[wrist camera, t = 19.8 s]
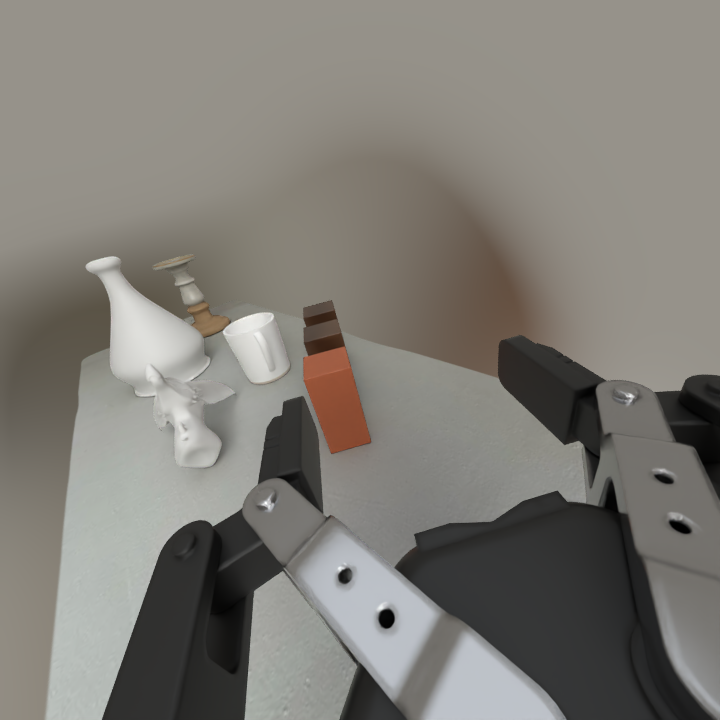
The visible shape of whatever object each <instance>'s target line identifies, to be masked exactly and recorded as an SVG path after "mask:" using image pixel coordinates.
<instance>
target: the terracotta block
mask: <svg viewBox="0 0 720 720" xmlns="http://www.w3.org/2000/svg"><path fill="white" fill-rule="evenodd" d="M303 359H304V382H305V385H306V388H307V390H308V393H309V396H310V398H311V401H312V404H313V406H314V409H315V412H316V414H317V417H318V420H319V422H320V425H321V428H322V430H323V433H324V436H325V438H326V441H327V444H328V446H329V449H330V452H331V454H332V453H336V452H339V451H343V450H346V449H349V448H353V447H356V446H360V445H363V444H367V443H370V442H371V439H370V436H369V432H368V428H367V425H366V421H365V417H364V413H363V410H362V406H361V402H360V399H359V395H358V391H357V388H356V384H355V380H354V376H353V373H352V369H351V365H350V362H349V359H348V355H347V352H346V348H345V346H344V347H340V348H336V349H333V350H329V351H325V352H322V353H318V354H314V355H311V356H307V357H304V358H303Z"/></svg>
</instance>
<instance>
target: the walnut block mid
mask: <svg viewBox="0 0 720 720" xmlns="http://www.w3.org/2000/svg"><path fill="white" fill-rule="evenodd" d="M304 345H305V348H306V351H307V353H308V356H311V355H314V354H318V353H322V352H325V351H329V350H333V349H336V348H340V347H344V346H345V344H344V340H343V337H342V333H341V330H340V327H339V323H338V319H335V320H331V321H327V322H324V323H320V324H316V325H313V326H309V327H305V328H304ZM346 352H347V351H346Z"/></svg>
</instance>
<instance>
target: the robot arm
mask: <svg viewBox="0 0 720 720" xmlns="http://www.w3.org/2000/svg"><path fill="white" fill-rule="evenodd" d="M498 376H499V379H500V382H501V384H502V385H503V387H504V388H505V389H506V390H507V391H508V392H509V393H510V394H511V395H513V396H514V397H515V398H516V399H517V400H518V401H519V402H520V403H521V404H522V405H523V406H524V407H525V408H526V409H527V410H528V411H529V412H530V413H531V414H533V415H534V416H535V417H536V418H537V419H538V420H539V421H540V422H541V423H542V424H543V425H544V426H545V427H546V428H547V429H548V430H549V431H550V432H551V433H553V434H554V435H555V436H556V437H557V438H558V439H559V440H560V441H561V442H562V443H563V444H564V445H566V444H569V443H573V442H576V441H580V442H581V443H582V444H583V447H582V460H583V469H584V479H585V488H586V503H578V502H567V501H566V500H565V499H564V498H563V496H562V495H561V494H560V493H559V492H558V491H555V492H551V493H548V494H545V495H541V496H538V497H535V498H532V499H528V500H525V501H522V502H521V503H519V504H518V505H516V506H515V507H513V508H512V509H510V510H509V511H508V512H506V513H505V514H503V515H502V516H500V517H499V518H497V519H496V520H494V521H491V522H476V523H449V524H446V525H443V526H439V527H436V528H433V529H429V530H426V531H423V532H420V533H416V534H414V536H415V540H416V545H417V546H416V547H415V548H413V549H412V550H410V551H409V552H408V553H407V554H406V555H405V556H404V557H403V558H402V559H401V560H400V561H399V562H398V563H397V565H396V566H395V568H394V567H393V566H391V565H390V564H389V563H388V562H387V561H386V560H385V559H383V558H382V557H381V556H380V555H379V554H378V553H376V552H375V551H374V550H373V549H372V548H371V547H369V546H368V545H367V544H366V543H365V542H364V541H362V540H361V539H360V538H359V537H358V536H357V535H356V534H354V533H353V532H352V531H351V530H350V529H349V528H347V527H346V526H345V525H344V524H343V523H342V522H340V521H339V520H338V519H337V518H335V517H334V516H332V515H330V516H329V517H326V516H324V515H323V500H322V484H321V469H320V453H319V439H318V433H317V429H316V426H315V423H314V421H313V418H312V416H311V413H310V411H309V408H308V406H307V403H306V401H305V399H304V397H303V396H301V397H297V398H293V399H290V400H286V401H284V402H283V411H282V415H281V416H277V417H274V418H273V419H272V421H271V422H270V424H269V425H268V427H267V430H266V436H265V442H264V450H263V455H262V461H261V468H260V474H259V481H258V485H257V486H256V487H255V488H253V489H252V490H251V492H250V493H249V494H248V496H247V497H246V499H245V501H244V504H243V508H242V509H241V510H239V511H238V512H237V513H235V514H233V515H232V516H230V517H228V518H227V519H225V520H223V521H222V522H220V523H218V524H217V525H215V526H212V525H211V524H210V523H209V522H207V521H204V520H199V521H194V522H191V523H189V524H187V525H185V526H183V527H182V528H181V529H179V530H178V531H177V532H176V533H174V534H173V535H172V536H171V538H170V539H169V540H168V541H167V542H166V544H165V545H164V547H163V549H162V550H161V552H160V555H159V557H158V560H157V563H156V566H155V569H154V572H153V575H152V577H151V580H150V583H149V586H148V589H147V592H146V595H145V598H144V600H143V603H142V606H141V609H140V612H139V615H138V618H137V620H136V623H135V626H134V629H133V632H132V635H131V638H130V641H129V643H128V646H127V649H126V652H125V655H124V658H123V661H122V663H121V666H120V669H119V672H118V675H117V678H116V681H115V684H114V686H113V689H112V692H111V695H110V698H109V701H108V704H107V706H106V709H105V712H104V715H103V718H102V720H244V719H245V705H246V691H247V678H248V664H249V651H250V637H251V623H252V610H253V596H254V590H256V589H257V588H259V587H260V586H261V585H263V584H264V583H266V582H267V581H269V580H270V579H272V578H273V577H274V576H276V575H277V574H279V573H280V572H282V571H283V572H284V573H285V575H286V576H287V577H288V578H289V580H290V581H291V582H292V583H293V585H294V586H295V587H296V589H297V590H298V591H299V592H300V594H301V595H302V596H303V597H304V599H305V600H306V601H307V603H308V604H309V605H310V606H311V608H312V609H313V610H314V612H315V613H316V614H317V615H318V617H319V618H320V619H321V621H322V622H323V623H324V625H325V626H326V627H327V629H328V630H329V631H330V633H331V634H332V635H333V636H334V638H335V639H336V640H337V642H338V643H339V644H340V645H341V647H342V648H343V649H344V651H345V652H346V653H347V654H348V656H349V657H350V658H351V660H352V661H353V662H354V663H355V665H356V666H357V669H356V672H355V675H354V678H353V681H352V684H351V687H350V690H349V693H348V696H347V699H346V702H345V705H344V708H343V711H342V713H341V716H340V719H339V720H720V376H717V375H696V376H692V377H689V378H687V379H686V380H685V383H684V385H683V387H682V390H681V391H667V392H653V391H652V390H650V389H649V388H647V387H645V386H643V385H640V384H637V383H634V382H630V381H623V380H611V381H606V380H604V379H603V378H601V377H599V376H598V375H596V374H594V373H593V372H591V371H589V370H588V369H586V368H585V367H583V366H581V365H580V364H578V363H576V362H573V360H571V359H569V358H568V357H566V356H563V354H561V353H560V352H558V351H557V350H555V349H553V348H551V347H548V346H545V345H541V344H538V343H537V344H535V343H533V342H532V341H530V340H529V339H527V338H525V337H524V336H522V335H519V336H516V337H512V338H509V339H505V340H502V341H501V342H500V343H499V357H498Z"/></svg>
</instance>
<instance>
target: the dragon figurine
mask: <svg viewBox="0 0 720 720" xmlns="http://www.w3.org/2000/svg"><path fill="white" fill-rule="evenodd" d="M145 375H146V379H147V381H148V382H149V383H150V384H151V385H152V386H153V387H154V388H155V390H156V391H155V398H154V403H153V406H154V407H153V414H154V419H155V422H156V424H157V426H158V428H159V429H160V428H164V427H165V426H166V425H167V424H168V423H169V422H170V423H171V424H172V425H173V426H174V428H175V435H174V456H175V461H176V463H177V465H179V466H181V467H185V468H206V467H210V466H212V465H213V464H214V463H215V462H216V460H217V458H218V455H219V452H220V450H221V447H222V442H221V440H220V438H219V437H218V436H217V435H216V434H215V433H214V432H213V431H211V430H210V429H208V428H207V427H206V425H205V424H204V405H205V404H214V403H217V402H220V401H222V400H223V399H225V398H227V397H229V396H230V395H232V394H236V393H235V392H234V391H233V390H232V389H231V388H229V387H228V386H226V385H225V384H222V383H219V382H215V381H209V380H194V381H187V382H183V381H181V380H179V379H176V378H173V377H166V378H164V377H163V375H162V374H161V373H160V372H159V371H158V370H157V369H156V368H155V367H154V366H153V365H151V364H148V365H146V368H145ZM161 431H162V430H161Z"/></svg>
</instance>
